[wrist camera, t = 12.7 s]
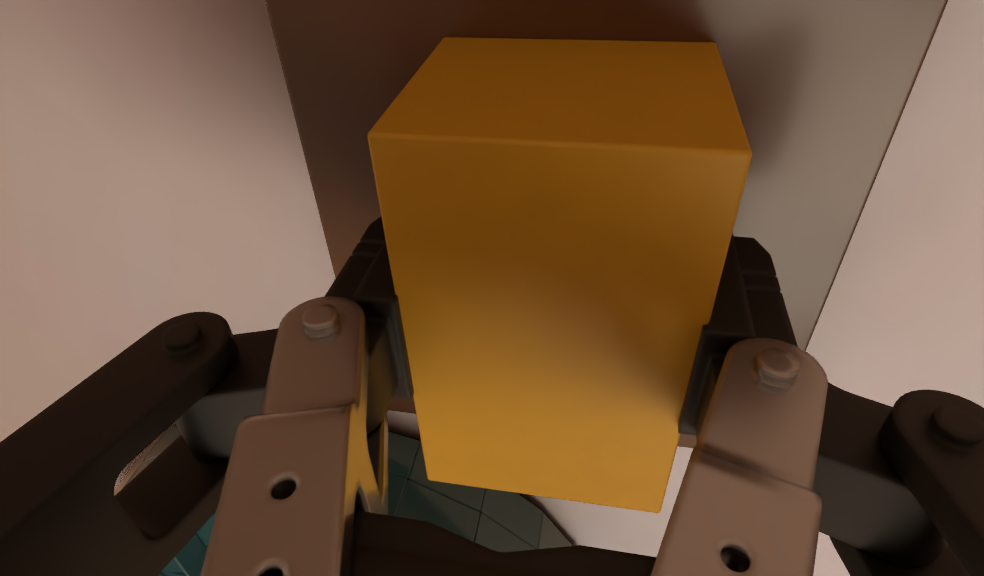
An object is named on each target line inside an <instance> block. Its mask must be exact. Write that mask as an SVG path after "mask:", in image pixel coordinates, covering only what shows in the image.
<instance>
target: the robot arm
mask: <svg viewBox="0 0 984 576" xmlns="http://www.w3.org/2000/svg"><path fill="white" fill-rule="evenodd" d="M780 290H781V288H780V285H779V281H778V278H777V277H776V271H775V268H774V264H773V261H772V258H771V255H770V254H769V253H768V252H767V251H766V250H765V249H764V247H763V246H762V245H761V244H760V243H759V242H758V241H757V240H756V239H755V238H751V237H737V236H734V235H733V232H732V236H731V240H730V244H729V247H728V251H727V255H726V259H725V263H724V267H723V271H722V275H721V278H720V282H719V286H718V290H717V294H716V298H715V302H714V306H713V309H712V313H711V317H710V321H709V323H708V324H706V325H703V327H702V331H701V335H700V339H699V343H698V347H697V351H696V355H695V359H694V363H693V367H692V371H691V375H690V379H689V383H688V386H687V390H686V394H685V398H684V402H683V406H682V410H681V414H680V418H679V422H678V433H680V434H688V435H696V440H697V443H696V446H694V449H693V451H692V454H691V457H690V460H689V463H688V466H687V469H686V472H685V475H684V478H683V481H682V484H681V487H680V490H679V493H678V496H677V499H676V502H675V504H674V507H673V510H672V513H671V516H670V519H669V522H668V525H667V528H666V531H665V534H664V537H663V540H662V543H661V546H660V549H659V552H658V555H657V557H651V556H644V555H638V554H631V553H625V552H619V551H612V550H606V549H600V548H593V547H587V546H581V545H578V546H567V547H556V548H545V549H535V550H524V551H513V552H498V551H494V550H491V549H489V548H487V547H484V546H482V545H480V544H478V543H475V542H473V541H471V540H469V539H466V538H464V537H462V536H460V535H457V534H455V533H453V532H451V531H448V530H446V529H444V528H442V527H439V526H437V525H435V524H433V523H430V522H428V521H421V520H415V519H409V518H402V517H396V516H390V515H388V420H387V415H386V413H387V411H388V408H389V406H390V403H391V401H392V398H393V397H396V398H404V399H412V398H413V395H414V388H413V382H412V376H411V370H410V364H409V359H408V353H407V347H406V341H405V335H404V330H403V324H402V318H401V312H400V306H399V301H398V296H397V295H395V290H394V285H393V279H392V273H391V268H390V262H389V256H388V251H387V245H386V239H385V234H384V228H383V222H382V217H379V218H378V219H376V220H375V221H374V222H372V223H371V224H370V225H369V226H368V228H367V230H366V231H365V233H364V234H363V236H362V238H361V239H360V243H358V244H357V246H356V247H355V249H354V250H353V252H352V256H350V257H349V258H348V260H347V262H346V263H345V265H344V266H343V268H342V270H341V271H340V273H339V274H338V276H337V278H336V279H335V281H334V282H333V284H332V286H331V287H330V289H329V290H328V292H327V294H326V295H325V297H320V298H315V299H312V300H309V301H306V302H304V303H302V304H300V305H298V306H296V307H295V308H293V309H292V310H291V311H290V312H288V313H287V314H286V316H285V317H284V318H283V319H282V321H281V323H280V325H279V328H278V329H272V330H266V331H258V332H251V333H243V334H236V335H233V334H232V332H231V329H230V327H229V325H228V323H227V321H226V320H225V319H224V318H223V317H222V316H220V315H218V314H214V313H210V312H193V313H187V314H183V315H180V316H177V317H174V318H171V319H169V320H167V321H165V322H163V323H161V324H160V325H158V326H157V327H155V328H154V329H152V330H151V331H150V332H148V333H147V334H146V335H144V336H143V337H142V338H140V339H139V340H138V341H136V342H135V343H134V344H132V345H131V346H129V347H128V348H127V349H125V350H124V351H123V352H121V353H120V354H119V355H117V356H116V357H115V358H113V359H112V360H111V361H109V362H108V363H107V364H105V365H104V366H103V367H101V368H100V369H99V370H97V371H96V372H94V373H93V374H92V375H90V376H89V377H88V378H86V379H85V380H84V381H82V382H81V383H80V384H78V385H77V386H76V387H74V388H73V389H72V390H70V391H69V392H68V393H66V394H65V395H64V396H62V397H61V398H59V399H58V400H57V401H55V402H54V403H53V404H51V405H50V406H49V407H47V408H46V409H45V410H43V411H42V412H41V413H39V414H38V415H37V416H35V417H34V418H33V419H31V420H30V421H29V422H27V423H26V424H24V425H23V426H22V427H20V428H19V429H18V430H16V431H15V432H14V433H12V434H11V435H10V436H8V437H7V438H6V439H4V440H3V441H2V442H0V576H158V574H159V573H160V572H161V571H162V570H163V569H164V568H165V567H166V566H167V565H168V564H169V562H170V561H171V560H172V559H173V558H174V557H175V556H176V555H177V554H178V553H179V552H180V551H181V549H182V548H183V547H184V546H185V545H186V544H187V543H188V542H189V541H190V540H191V539H192V537H193V536H194V535H195V534H196V533H197V532H198V531H199V530H200V529H201V528H202V527H203V525H204V524H205V523H206V522H207V521H208V520H209V519H210V518H211V517H212V516H213V515H214V513H215V512H216V511H217V512H216V516H215V520H214V524H213V528H212V532H211V536H210V540H209V544H208V548H207V552H206V556H205V560H204V564H203V568H202V572H201V576H813V572H814V564H815V556H816V549H817V541H818V533H819V532H822V533H824V534H826V535H829V536H830V539H831V541H832V543H833V545H834V547H835V549H836V551H837V552H838V554H839V556H840V558H841V560H842V561H843V563H844V565H845V567H846V568H847V570H848V572H849V574H850V576H984V408H983V407H981V406H979V405H978V404H976V403H974V402H972V401H970V400H967V399H965V398H962V397H960V396H957V395H954V394H951V393H947V392H942V391H936V390H917V391H911V392H909V393H906V394H904V395H903V396H901V397H900V398H899V399H898V400H897V401H896V403H895V404H894V406H893V407H891V406H888V405H885V404H882V403H879V402H876V401H873V400H870V399H867V398H864V397H861V396H858V395H855V394H852V393H849V392H847V391H844V390H842V389H840V388H838V387H836V386H834V385H832V384H830V383H829V382H828V380H827V376H826V373H825V371H824V369H823V368H822V366H821V365H820V364H819V363H818V362H817V361H816V360H815V359H814V358H813V357H812V356H811V355H810V354H808V353H807V352H806V351H804V350H802V349H801V348H799V347H798V345H797V342H796V339H795V335H794V332H793V329H792V325H791V322H790V318H789V315H788V312H787V308H786V305H785V302H784V298H783V295H782V293H780ZM174 422H175V424H176V426H177V427H178V429H179V431H180V433H181V435H180V436H179V437H178V438H177V439H176V440H175V441H174V442H172V443H171V444H170V445H169V446H168V447H167V448H166V449H165V450H164V451H163V452H162V453H161V454H159V455H158V456H157V457H156V458H155V459H154V460H153V461H152V462H151V463H150V464H149V465H148V466H146V467H145V468H144V469H143V470H142V471H141V472H140V473H139V474H138V475H137V476H136V477H135V478H133V479H132V480H131V481H130V482H129V483H128V484H127V485H126V486H125V487H124V488H123V489H122V490H120V491H119V492H118V493H117V494H116V495H114V486H115V482H116V480H117V478H118V476H119V474H120V472H121V471H122V470H123V469H124V467H125V466H126V465H127V464H128V463H129V462H131V461H132V460H133V459H134V458H135V457H136V456H137V455H138V454H139V453H141V452H142V451H143V450H144V449H145V448H146V447H147V446H148V445H149V444H151V443H152V442H153V441H154V440H155V439H156V438H157V437H158V436H159V435H161V434H162V433H163V432H164V431H165V430H166V429H167V428H168V427H170V426H171V425H172V424H173V423H174Z"/></svg>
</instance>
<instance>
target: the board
mask: <svg viewBox="0 0 984 576" xmlns="http://www.w3.org/2000/svg"><path fill="white" fill-rule="evenodd" d="M265 2H266V6H267V10H268V13H269V17H270V21H271V25H272V29H273V33H274V37H275V41H276V45H277V49H278V53H279V57H280V61H281V65H282V69H283V73H284V77H285V80H286V84H287V88H288V92H289V96H290V100H291V104H292V108H293V112H294V116H295V120H296V124H297V128H298V132H299V136H300V140H301V143H302V147H303V151H304V155H305V159H306V163H307V167H308V171H309V175H310V179H311V183H312V187H313V191H314V195H315V199H316V203H317V206H318V210H319V214H320V218H321V222H322V226H323V230H324V234H325V238H326V242H327V246H328V250H329V254H330V258H331V262H332V266H333V269H334V273H335V277H336V278H337V276H338V274H339V273H340V271H341V270H342V268H343V266H344V265H345V263H346V262H347V260H348V258H349V257H350V256H352V252H353V250H354V249H355V247H356V246H357V244H358V243H360V239H361V238H362V236H363V234H364V233H365V231H366V230H367V228H368V226H369V225H370V224H371V223H372V222H374V221H375V220H376V219H378V218H379V217H381V211H380V205H379V200H378V194H377V189H376V183H375V177H374V172H373V166H372V160H371V155H370V149H369V143H368V137H367V136H368V132H369V131H370V130H371V129H372V127H373V126H374V125H375V124H376V122H377V121H378V120H379V119H380V117H381V116H382V115H383V114H384V112H385V111H386V110H387V109H388V107H389V106H390V105H391V104H392V102H393V101H394V100H395V98H396V97H397V96H398V95H399V93H400V92H401V91H402V90H403V88H404V87H405V86H406V85H407V83H408V82H409V81H410V80H411V78H412V77H413V76H414V75H415V73H416V72H417V71H418V70H419V68H420V67H421V66H422V64H423V63H424V62H425V61H426V59H427V58H428V57H429V56H430V54H431V53H432V52H433V51H434V49H435V48H436V47H437V46H438V44H439V43H440V42H441V41H442V39H443V38H445V37H460V38H511V39H562V40H613V41H664V42H714V43H716V44H717V47H718V50H719V53H720V56H721V59H722V62H723V66H724V69H725V72H726V75H727V78H728V81H729V84H730V87H731V90H732V93H733V96H734V99H735V102H736V105H737V108H738V111H739V114H740V117H741V121H742V124H743V127H744V130H745V133H746V136H747V139H748V142H749V145H750V148H751V151H752V158H751V162H750V166H749V170H748V174H747V178H746V181H745V185H744V189H743V193H742V197H741V201H740V205H739V209H738V212H737V216H736V220H735V224H734V228H733V235H734V236H737V237H751V238H755V239H756V240H757V241H758V242H759V243H760V244H761V245H762V246H763V247H764V249H765V250H766V251H767V252H768V253H769V254H770V255H771V258H772V261H773V264H774V268H775V271H776V277H777V278H778V281H779V285H780V288H781V290H780V293H782V295H783V298H784V302H785V305H786V308H787V312H788V315H789V318H790V322H791V325H792V329H793V332H794V335H795V339H796V342H797V345H798V347H799V348H801V349H802V350H804V351H806V348H807V346H808V343H809V341H810V339H811V336H812V334H813V331H814V329H815V326H816V324H817V321H818V319H819V316H820V314H821V312H822V309H823V307H824V304H825V302H826V299H827V297H828V294H829V292H830V289H831V287H832V285H833V282H834V280H835V277H836V275H837V272H838V270H839V267H840V265H841V262H842V260H843V257H844V255H845V253H846V250H847V248H848V245H849V243H850V240H851V238H852V235H853V233H854V230H855V228H856V226H857V223H858V221H859V218H860V216H861V213H862V211H863V208H864V206H865V203H866V201H867V198H868V196H869V194H870V191H871V189H872V186H873V184H874V181H875V179H876V176H877V174H878V171H879V169H880V167H881V164H882V162H883V159H884V157H885V154H886V152H887V149H888V147H889V144H890V142H891V139H892V137H893V135H894V132H895V130H896V127H897V125H898V122H899V120H900V117H901V115H902V112H903V110H904V108H905V105H906V103H907V100H908V98H909V95H910V93H911V90H912V88H913V85H914V83H915V80H916V78H917V76H918V73H919V71H920V68H921V66H922V63H923V61H924V58H925V56H926V53H927V51H928V49H929V46H930V44H931V41H932V39H933V36H934V34H935V31H936V29H937V26H938V24H939V21H940V19H941V17H942V14H943V12H944V9H945V7H946V4H947V2H948V0H265ZM388 410H391V411H399V412H407V413H415V414H416V409H415V404H414V398H412V399H404V398H396V397H393V398H392V401H391V403H390V406H389V408H388ZM696 443H697V440H696V435H688V434H680V437H679V441H678V445H677V446H680V447H688V448H694V446H696Z"/></svg>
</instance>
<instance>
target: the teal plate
mask: <svg viewBox="0 0 984 576" xmlns="http://www.w3.org/2000/svg"><path fill="white" fill-rule="evenodd" d="M180 435H181V433H180V431H179V429H178V427H177V426H175V427H172V428H169V429H166V430H165V431H164V432H163V433H162V434H161V435H160V436H159V437H158V438H157V439H156V440H155V441H154V442H153V443H152V444H151V445H150V446H149V447H148V448H147V449H146V450H145V451H144V452H143V453H142V454H141V455H140V457H139V458H138V459H137V461H136V462H135V463H134V465H133V466H132V467H131V469H130V470H129V471H128V473H127V474H126V475H125V477H124V478H123V479H122V481H121V482H120V484H119V485H118V486H117V487H116V489H115V490H114V495H116V494H117V493H118V492H119V491H120V490H122V489H123V488H124V487H125V486H126V485H127V484H128V483H129V482H130V481H131V480H132V479H133V478H135V477H136V476H137V475H138V474H139V473H140V472H141V471H142V470H143V469H144V468H145V467H146V466H148V465H149V464H150V463H151V462H152V461H153V460H154V459H155V458H156V457H157V456H158V455H159V454H161V453H162V452H163V451H164V450H165V449H166V448H167V447H168V446H169V445H170V444H171V443H172V442H174V441H175V440H176V439H177V438H178V437H179V436H180ZM216 512H217V511H216ZM216 512H215V513H214V515H213V516H212V517H211V518H210V519H209V520H208V521H207V522H206V523H205V524H204V525H203V527H202V528H201V529H200V530H199V531H198V532H197V533H196V534H195V535H194V536H193V537H192V539H191V540H190V541H189V542H188V543H187V544H186V545H185V546H184V547H183V548H182V549H181V551H180V552H179V553H178V554H177V555H176V556H175V557H174V558H173V559H172V560H171V561H170V562H169V564H168V565H167V566H166V567H165V568H164V569H163V570H162V571H161V572H160V573H159V574H158V576H201V572H202V568H203V564H204V560H205V556H206V552H207V548H208V544H209V540H210V536H211V532H212V528H213V524H214V520H215V516H216ZM388 515H390V516H396V517H402V518H409V519H415V520H421V521H428V522H430V523H433V524H435V525H437V526H439V527H442V528H444V529H446V530H448V531H451V532H453V533H455V534H457V535H460V536H462V537H464V538H466V539H469V540H471V541H473V542H475V543H478V544H480V545H482V546H484V547H487V548H489V549H491V550H494V551H498V552H513V551H524V550H535V549H545V548H556V547H567V546H573V545H572V544H571V543H570V542H569V541H568V540H567V538H566V537H565V536H564V535H563V534H562V533H561V532H560V531H559V529H558V528H557V527H556V526H555V525H554V524H553V523H552V522H551V520H550V519H549V518H548V517H547V516H546V515H545V514H544V513H543V512H542V510H540V509H539V508H537V507H536V506H535V505H533V504H532V503H530V502H529V501H528V500H526V499H525V498H523V497H522V496H520V495H519V494H518V493H515V492H508V491H501V490H494V489H487V488H480V487H473V486H466V485H459V484H452V483H445V482H438V481H432V480H429V479H428V477H427V472H426V466H425V460H424V455H423V449H422V443H421V442H420V441H419V440H415V439H412V438H408V437H405V436H402V435H398V434H395V433H391V432H388Z"/></svg>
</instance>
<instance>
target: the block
mask: <svg viewBox="0 0 984 576" xmlns="http://www.w3.org/2000/svg"><path fill="white" fill-rule="evenodd" d="M367 137H368V143H369V149H370V155H371V160H372V166H373V172H374V177H375V183H376V189H377V194H378V200H379V205H380V211H381V217H382V222H383V228H384V234H385V239H386V245H387V251H388V256H389V262H390V268H391V273H392V279H393V285H394V290H395V295H397V296H398V301H399V306H400V312H401V318H402V324H403V330H404V335H405V341H406V347H407V353H408V359H409V364H410V370H411V376H412V382H413V388H414V395H413V398H414V404H415V409H416V415H417V421H418V426H419V432H420V438H421V443H422V449H423V455H424V460H425V466H426V472H427V477H428V479H429V480H432V481H438V482H445V483H452V484H459V485H466V486H473V487H480V488H487V489H494V490H501V491H508V492H515V493H522V494H529V495H536V496H543V497H550V498H556V499H563V500H570V501H577V502H584V503H591V504H598V505H605V506H612V507H619V508H626V509H633V510H640V511H647V512H654V513H659V512H660V511H661V507H662V503H663V500H664V496H665V492H666V488H667V484H668V480H669V476H670V472H671V468H672V465H673V461H674V457H675V453H676V449H677V445H678V441H679V437H680V433H678V422H679V418H680V414H681V410H682V406H683V402H684V398H685V394H686V390H687V386H688V383H689V379H690V375H691V371H692V367H693V363H694V359H695V355H696V351H697V347H698V343H699V339H700V335H701V331H702V327H703V325H706V324H708V323H709V321H710V317H711V313H712V309H713V306H714V302H715V298H716V294H717V290H718V286H719V282H720V278H721V275H722V271H723V267H724V263H725V259H726V255H727V251H728V247H729V244H730V240H731V236H732V232H733V228H734V224H735V220H736V216H737V212H738V209H739V205H740V201H741V197H742V193H743V189H744V185H745V181H746V178H747V174H748V170H749V166H750V162H751V158H752V151H751V148H750V145H749V142H748V139H747V136H746V133H745V130H744V127H743V124H742V121H741V117H740V114H739V111H738V108H737V105H736V102H735V99H734V96H733V93H732V90H731V87H730V84H729V81H728V78H727V75H726V72H725V69H724V66H723V62H722V59H721V56H720V53H719V50H718V47H717V44H716V43H714V42H664V41H613V40H562V39H511V38H460V37H445V38H443V39H442V41H441V42H440V43H439V44H438V46H437V47H436V48H435V49H434V51H433V52H432V53H431V54H430V56H429V57H428V58H427V59H426V61H425V62H424V63H423V64H422V66H421V67H420V68H419V70H418V71H417V72H416V73H415V75H414V76H413V77H412V78H411V80H410V81H409V82H408V83H407V85H406V86H405V87H404V88H403V90H402V91H401V92H400V93H399V95H398V96H397V97H396V98H395V100H394V101H393V102H392V104H391V105H390V106H389V107H388V109H387V110H386V111H385V112H384V114H383V115H382V116H381V117H380V119H379V120H378V121H377V122H376V124H375V125H374V126H373V127H372V129H371V130H370V131H369V132H368V136H367Z"/></svg>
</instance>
